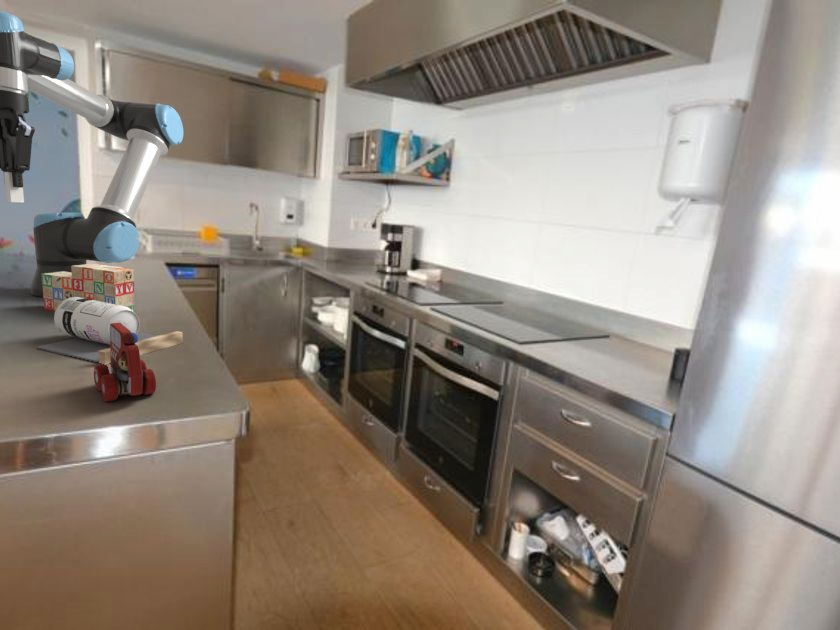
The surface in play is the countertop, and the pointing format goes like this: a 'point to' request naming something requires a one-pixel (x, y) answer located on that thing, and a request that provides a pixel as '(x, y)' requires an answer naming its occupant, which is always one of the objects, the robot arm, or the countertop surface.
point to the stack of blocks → (90, 285)
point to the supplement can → (92, 319)
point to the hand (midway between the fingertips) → (15, 202)
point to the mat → (83, 347)
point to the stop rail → (148, 345)
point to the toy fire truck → (124, 367)
